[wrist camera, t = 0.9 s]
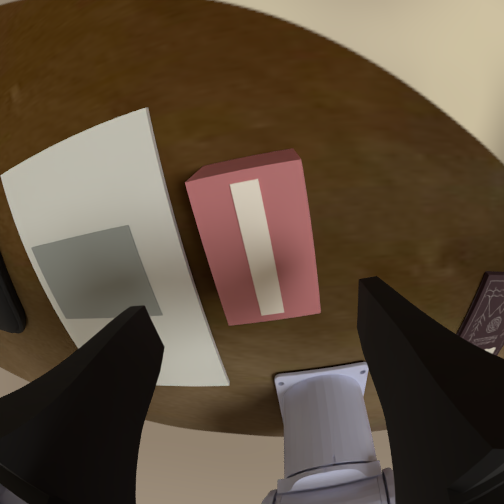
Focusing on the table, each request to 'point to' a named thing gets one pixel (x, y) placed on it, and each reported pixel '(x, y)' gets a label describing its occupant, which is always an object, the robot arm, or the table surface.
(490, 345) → the chocolate bar
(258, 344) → the table surface
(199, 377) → the mat
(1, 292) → the carrying case or bag
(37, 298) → the table surface
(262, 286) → the box
